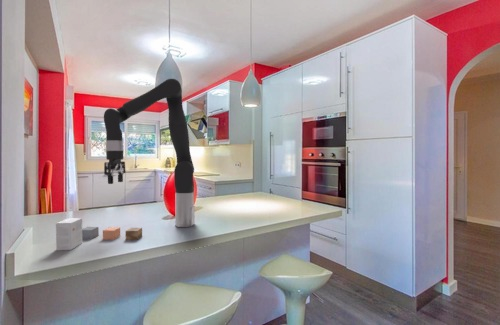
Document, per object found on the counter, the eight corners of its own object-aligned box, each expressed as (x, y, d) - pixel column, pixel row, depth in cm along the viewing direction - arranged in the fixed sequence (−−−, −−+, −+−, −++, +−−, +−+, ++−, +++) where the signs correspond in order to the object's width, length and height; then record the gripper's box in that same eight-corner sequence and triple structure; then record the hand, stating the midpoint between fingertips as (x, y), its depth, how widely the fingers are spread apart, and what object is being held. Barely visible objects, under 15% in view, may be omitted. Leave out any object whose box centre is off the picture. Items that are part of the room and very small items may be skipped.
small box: (68, 243, 107) (68, 217, 106) (82, 243, 107) (82, 217, 107) (55, 250, 99) (55, 223, 98) (71, 250, 99) (70, 222, 99)
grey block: (98, 235, 117) (98, 226, 117) (91, 239, 112) (91, 230, 112) (87, 235, 118) (87, 226, 117) (80, 239, 113) (80, 229, 112)
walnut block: (142, 236, 117) (142, 227, 117) (137, 240, 112) (136, 231, 112) (131, 236, 117) (131, 227, 117) (125, 240, 112) (125, 230, 112)
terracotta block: (120, 236, 117) (120, 227, 117) (114, 239, 112) (114, 230, 112) (109, 236, 117) (109, 227, 117) (102, 239, 112) (102, 230, 112)
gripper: (113, 149, 121) (114, 184, 121) (129, 150, 135) (130, 181, 136) (98, 149, 121) (99, 184, 122) (115, 150, 135) (116, 181, 136)
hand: (115, 182), depth 129 cm, fingers open, 8 cm apart
